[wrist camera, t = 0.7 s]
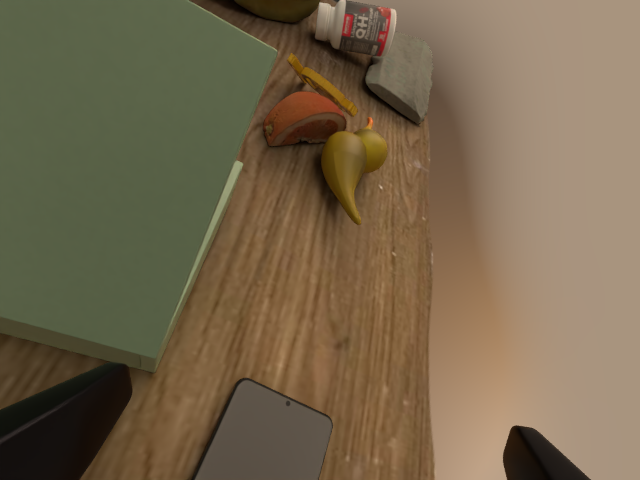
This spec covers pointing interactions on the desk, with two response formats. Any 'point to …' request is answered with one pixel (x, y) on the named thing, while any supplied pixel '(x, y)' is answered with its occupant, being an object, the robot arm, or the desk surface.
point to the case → (149, 363)
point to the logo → (322, 86)
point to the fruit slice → (303, 120)
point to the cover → (115, 158)
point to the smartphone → (265, 438)
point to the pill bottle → (356, 27)
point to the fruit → (280, 8)
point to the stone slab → (403, 76)
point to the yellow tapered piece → (351, 163)
